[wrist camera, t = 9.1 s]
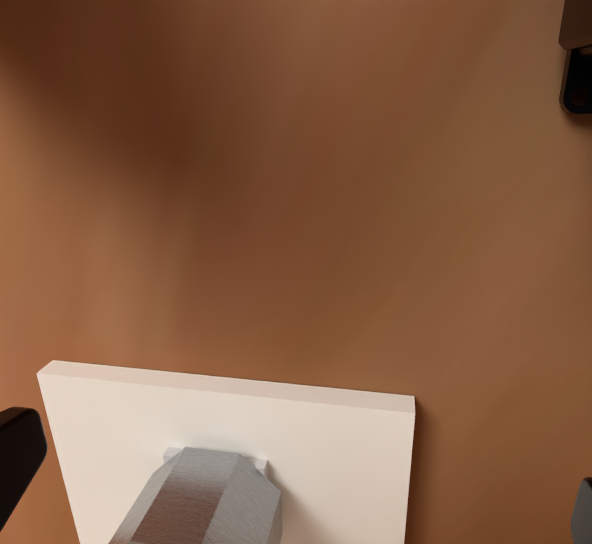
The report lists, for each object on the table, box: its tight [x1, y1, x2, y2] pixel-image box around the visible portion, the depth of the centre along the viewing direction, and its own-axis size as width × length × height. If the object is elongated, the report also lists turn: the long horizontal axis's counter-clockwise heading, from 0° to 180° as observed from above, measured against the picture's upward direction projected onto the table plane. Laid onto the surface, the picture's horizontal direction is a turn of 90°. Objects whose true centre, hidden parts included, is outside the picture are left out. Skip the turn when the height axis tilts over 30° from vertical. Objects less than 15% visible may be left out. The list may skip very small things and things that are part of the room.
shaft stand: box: [37, 360, 415, 544], centre depth 21 cm, size 18×12×7 cm, turn 91°
